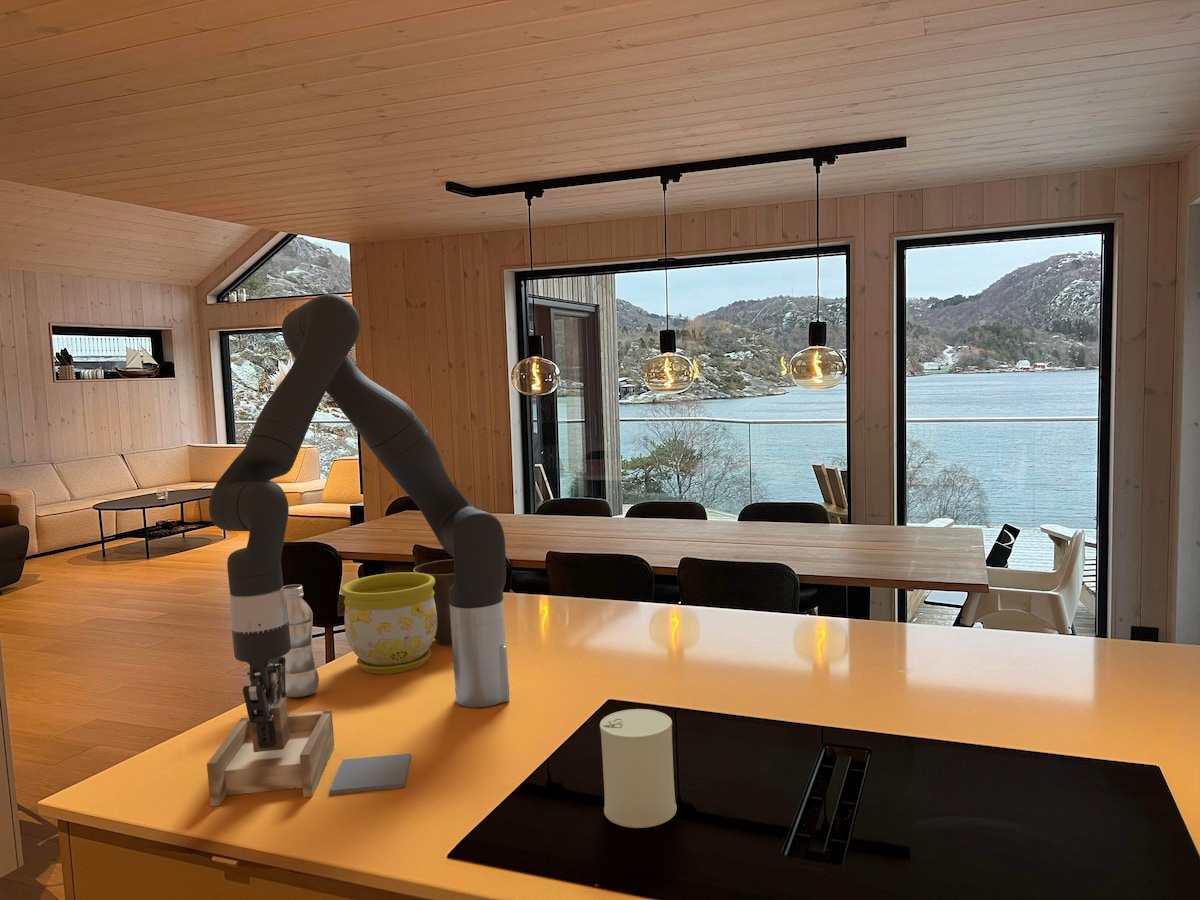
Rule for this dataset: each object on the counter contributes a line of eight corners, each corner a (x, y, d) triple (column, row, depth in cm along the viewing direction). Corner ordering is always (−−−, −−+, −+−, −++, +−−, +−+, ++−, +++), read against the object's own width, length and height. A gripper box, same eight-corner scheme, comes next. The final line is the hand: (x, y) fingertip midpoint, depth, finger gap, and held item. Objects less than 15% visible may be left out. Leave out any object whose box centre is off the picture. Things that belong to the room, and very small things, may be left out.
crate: (334, 748, 140) (331, 710, 140) (312, 796, 124) (308, 754, 124) (244, 756, 139) (241, 718, 138) (210, 806, 123) (206, 763, 122)
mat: (411, 757, 135) (411, 753, 135) (403, 787, 125) (403, 783, 125) (342, 763, 134) (342, 759, 134) (329, 794, 124) (329, 790, 124)
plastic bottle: (309, 702, 161) (299, 591, 159) (274, 701, 162) (264, 591, 161) (326, 689, 167) (318, 582, 165) (293, 688, 169) (284, 582, 167)
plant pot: (463, 625, 205) (459, 555, 203) (503, 637, 194) (498, 564, 192) (405, 642, 195) (399, 568, 193) (443, 655, 184) (438, 577, 182)
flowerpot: (341, 659, 185) (335, 579, 183) (429, 644, 192) (424, 567, 190) (354, 685, 168) (347, 598, 167) (450, 668, 175) (444, 584, 174)
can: (601, 796, 120) (596, 708, 119) (670, 790, 120) (666, 702, 119) (607, 831, 111) (602, 736, 110) (682, 824, 111) (678, 729, 110)
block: (289, 737, 131) (285, 697, 131) (283, 749, 127) (279, 707, 127) (261, 740, 131) (257, 700, 130) (253, 752, 127) (249, 710, 126)
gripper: (275, 634, 121) (287, 758, 122) (298, 606, 135) (309, 718, 136) (216, 639, 120) (229, 764, 121) (246, 611, 134) (257, 723, 136)
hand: (271, 739), depth 129 cm, fingers closed on block, 4 cm apart
